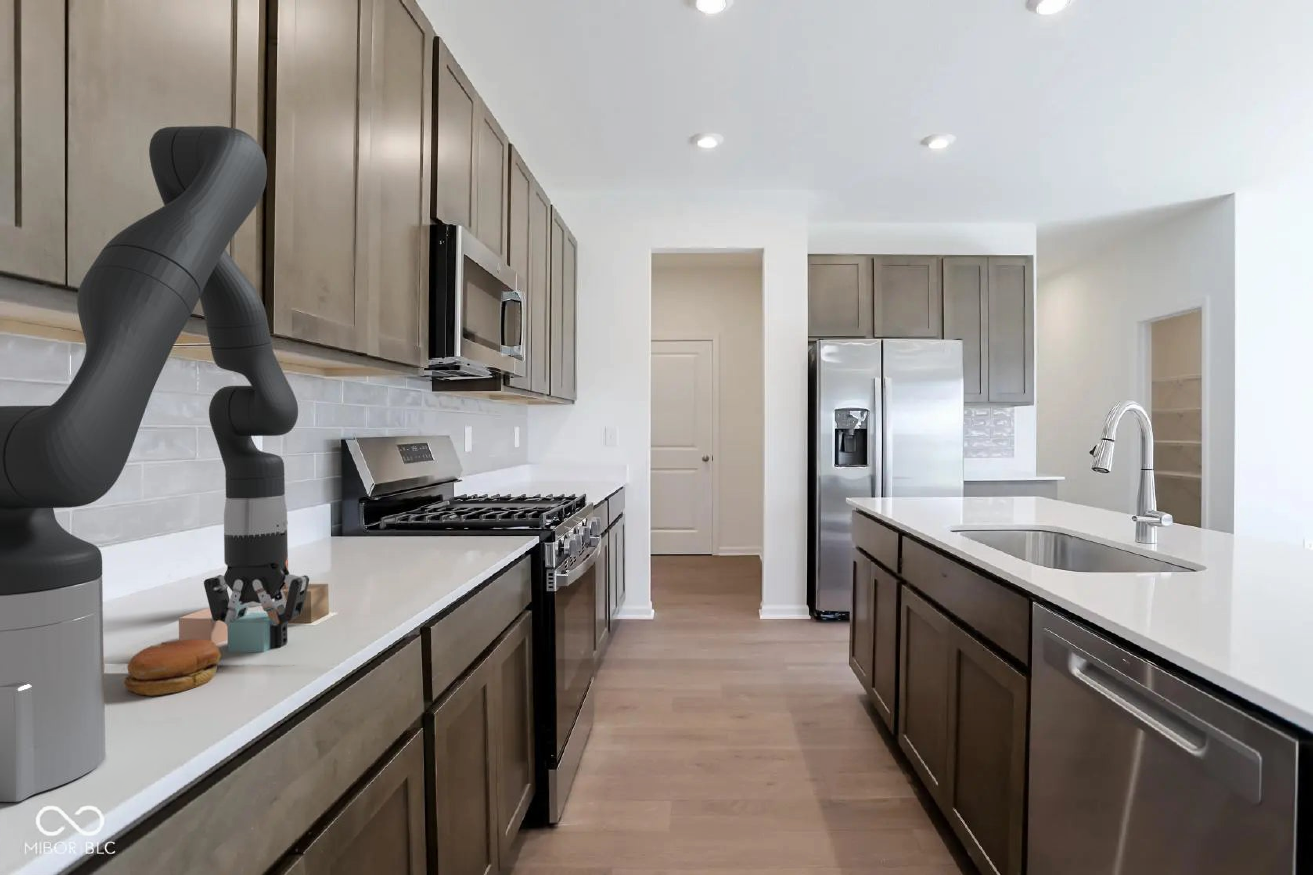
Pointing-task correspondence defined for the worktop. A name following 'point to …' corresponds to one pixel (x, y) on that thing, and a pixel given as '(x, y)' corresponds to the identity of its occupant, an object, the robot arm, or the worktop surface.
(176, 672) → the burger
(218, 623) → the terracotta block
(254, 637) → the teal block
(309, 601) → the walnut block
